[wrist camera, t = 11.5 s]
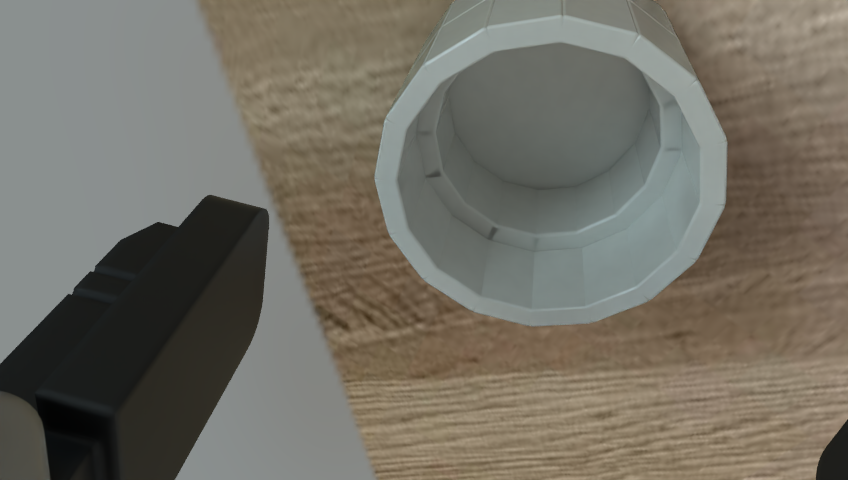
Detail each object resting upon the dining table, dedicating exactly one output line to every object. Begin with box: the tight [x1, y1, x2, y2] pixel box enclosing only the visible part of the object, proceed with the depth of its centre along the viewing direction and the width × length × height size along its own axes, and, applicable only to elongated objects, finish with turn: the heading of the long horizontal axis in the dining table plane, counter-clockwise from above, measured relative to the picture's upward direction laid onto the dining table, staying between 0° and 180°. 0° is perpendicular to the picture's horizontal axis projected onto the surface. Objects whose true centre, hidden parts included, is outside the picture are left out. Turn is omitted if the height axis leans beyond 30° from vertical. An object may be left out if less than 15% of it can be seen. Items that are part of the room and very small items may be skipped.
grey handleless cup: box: [374, 0, 728, 326], centre depth 15 cm, size 6×6×5 cm
